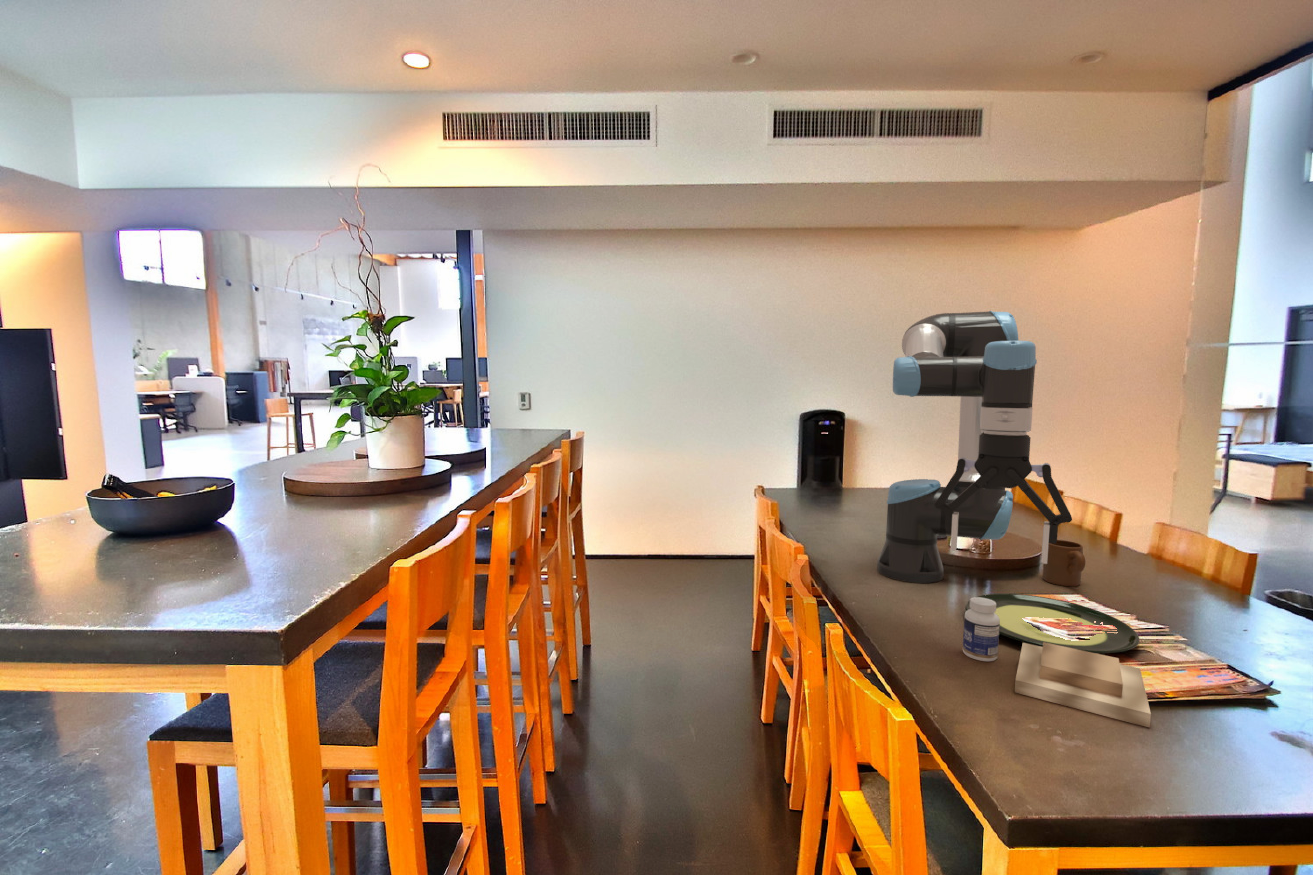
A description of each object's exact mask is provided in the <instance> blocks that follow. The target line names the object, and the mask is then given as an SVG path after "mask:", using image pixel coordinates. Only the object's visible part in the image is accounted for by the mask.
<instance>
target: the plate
mask: <svg viewBox="0 0 1313 875" xmlns="http://www.w3.org/2000/svg"><path fill="white" fill-rule="evenodd" d="M976 597H982V598H987V599H990V600H993V601H995V602H996V612H994V613H995V614H996V615H998V617H999V619H1000V627H999V635H1002V636H1004V637H1007V638H1010V639H1012V640H1015V641H1018V642H1021V643H1027V644H1031V645H1036V646H1040V647H1043V642H1045V643H1050V644H1054V645H1059V646H1064V647H1068V648H1073V649H1077V650H1082V651H1087V652H1091V653H1096V654H1101V655H1103V654H1111V653H1120V652H1122V653H1123V652H1126V651H1130V650H1132V649H1134V648H1136V647H1137V646H1138V645H1139V644H1140V640H1141V639H1140V636H1139V634H1138V632H1137V631H1135V629H1134V628H1132V627H1131V626H1130V625H1128V624H1127V623H1125V622H1124V621H1122V620H1120V619H1118V618H1117V617H1115V616H1112V615H1110V614H1107V613H1105V612H1102V611H1100V610H1096V609H1094V608H1092V607H1089V606H1085V605H1081V604H1077V603H1074V602H1069V601H1065V600H1060V599H1056V598H1050V597H1045V596H1038V595H1033V594H1024V593H1023V594H1021V593H987V594H986V593H985V594H982V595H977V596H976ZM964 608H965V612H966V611H967V610H969V609H971V608H970V599H969V600H968V601H967V602H966V603H965V607H964ZM1025 617H1039V618H1043V617H1044V618H1068V619H1069V618H1071V619H1072V620H1075V621H1078V622H1082V623H1083V624H1082V625H1102V624H1100V623H1101V622H1103V625H1113V626H1115V627H1116V628H1117V629H1118V630H1117V631H1104V630H1103V631H1102V632H1105V633H1103V634H1096V635H1094V636H1092V637H1089V638H1085V639H1090V640H1085V641H1071V640H1065V639H1063V638H1060V637H1055V636H1052V635H1049V634H1046V633H1043V632H1042V631H1040V630H1038V629H1037V628H1035V627H1033V626H1032V625H1031V624H1029V623H1027V622H1025V621H1024V620H1023V619H1022V618H1025ZM1094 621H1096V623H1094ZM1096 629H1097V628H1096ZM1093 632H1100V631H1095V630H1094V631H1093ZM1107 632H1118V633H1117V634H1114V633H1107Z"/></svg>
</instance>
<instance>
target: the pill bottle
mask: <svg viewBox="0 0 1313 875" xmlns="http://www.w3.org/2000/svg"><path fill="white" fill-rule="evenodd" d="M969 600H970V608H971V609H969V610H967V611H966V610H965V613H964V620H963V623H964V624H963V636H962V638H963V639H962V651H963V653H964V655H966V656H967V657H968V658H971V659H974V660H977V661H980V662H995V661H996V660H997V659H998V656H999V642H1000V640H999V637H1000V634H999V627H1000V619H999V617H998V615H996V614H995V613H994V612H996V602H995V601H993V600H990V599H987V598H982V597H977V596H973V597H971V598H970V599H969Z"/></svg>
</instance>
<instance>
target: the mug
mask: <svg viewBox="0 0 1313 875" xmlns="http://www.w3.org/2000/svg"><path fill="white" fill-rule="evenodd" d="M1083 553H1084V547H1083V545H1082V544H1081V543H1078V542H1075V541H1070V540H1066V539H1065V540H1064V539H1057V542H1056V544H1052V543H1048V558H1047V564H1044V563H1042V578H1043V580H1044V581H1045V582H1047V583H1050V584H1052V585H1055V586H1056V585H1057V586H1061V587H1078V586H1080V584H1081V581H1082V572H1083V571H1084V570H1085V567H1086V557H1085V555H1084V554H1083Z"/></svg>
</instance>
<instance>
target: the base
mask: <svg viewBox="0 0 1313 875" xmlns="http://www.w3.org/2000/svg"><path fill="white" fill-rule="evenodd" d="M1018 660H1019V661H1018V665H1017V671H1016V675H1015V680H1014V681H1015V682H1014V693H1016V694H1019V695H1024V696H1027V697H1031V698H1035V699H1039V700H1043V701H1046V702H1051V703H1054V704H1059V705H1062V706H1065V707H1069V708H1074V709H1077V710H1081V711H1085V712H1089V713H1092V714H1096V715H1100V716H1104V717H1108V718H1111V719H1115V720H1120V721H1123V722H1127V723H1130V724H1134V725H1138V726H1142V727H1146V728H1149V729H1150V727H1151V717H1152V713H1151V709H1150V705H1149V699H1148V695H1147V691H1146V688H1145V684H1144V678H1143V675H1142V671H1141V670H1142V669H1141V668H1140V667H1135V666H1130V665H1128V664H1123V663H1120V658H1119V657H1114V656H1109V655H1105V654H1096V653H1091V652H1087V651H1082V650H1077V649H1073V648H1068V647H1064V646H1059V645H1054V644H1050V643H1045V642H1043V647H1040V646H1036V645H1031V644H1027V643H1024V642H1022V646H1021V650H1020V655H1019V659H1018Z"/></svg>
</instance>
